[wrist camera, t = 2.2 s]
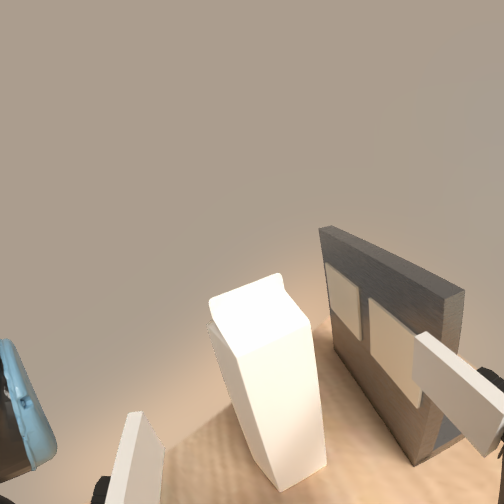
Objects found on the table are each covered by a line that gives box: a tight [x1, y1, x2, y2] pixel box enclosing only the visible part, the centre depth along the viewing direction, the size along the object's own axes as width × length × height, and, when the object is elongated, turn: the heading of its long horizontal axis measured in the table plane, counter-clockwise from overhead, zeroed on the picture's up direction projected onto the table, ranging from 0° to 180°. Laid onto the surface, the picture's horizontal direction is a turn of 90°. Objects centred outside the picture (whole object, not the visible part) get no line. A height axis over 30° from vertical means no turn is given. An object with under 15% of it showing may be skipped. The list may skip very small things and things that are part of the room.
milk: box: [206, 273, 327, 493], centre depth 25 cm, size 6×6×22 cm
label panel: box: [319, 226, 465, 467], centre depth 32 cm, size 8×26×20 cm, turn 8°
